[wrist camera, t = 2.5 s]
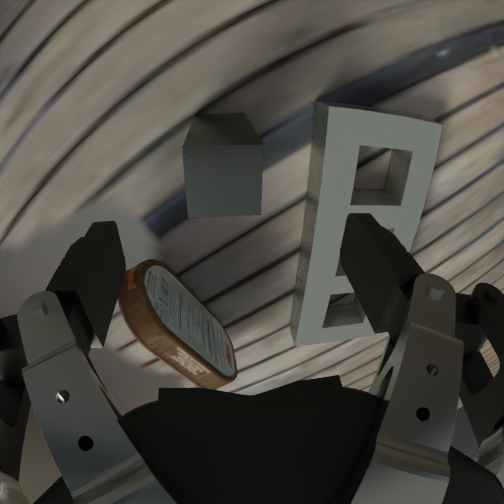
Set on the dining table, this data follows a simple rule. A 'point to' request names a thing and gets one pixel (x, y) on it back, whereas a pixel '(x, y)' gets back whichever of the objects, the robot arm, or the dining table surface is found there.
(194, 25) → the dining table surface
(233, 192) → the square peg
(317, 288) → the rail
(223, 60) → the dining table surface
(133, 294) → the tin
